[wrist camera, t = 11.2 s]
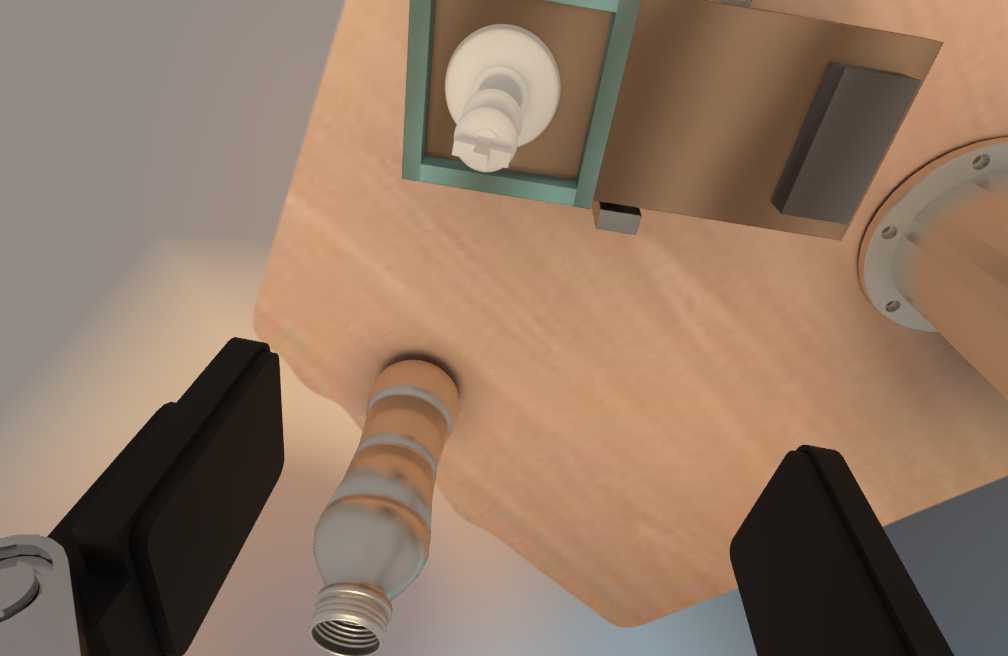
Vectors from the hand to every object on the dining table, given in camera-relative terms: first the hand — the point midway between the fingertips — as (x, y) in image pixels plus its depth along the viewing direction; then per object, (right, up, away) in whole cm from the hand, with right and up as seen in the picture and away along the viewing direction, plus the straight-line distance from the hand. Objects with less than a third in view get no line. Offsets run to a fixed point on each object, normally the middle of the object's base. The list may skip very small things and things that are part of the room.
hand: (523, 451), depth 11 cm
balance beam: (+6, +12, +15) cm, 21 cm away
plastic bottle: (-7, -2, +34) cm, 35 cm away
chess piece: (0, +13, +14) cm, 19 cm away
